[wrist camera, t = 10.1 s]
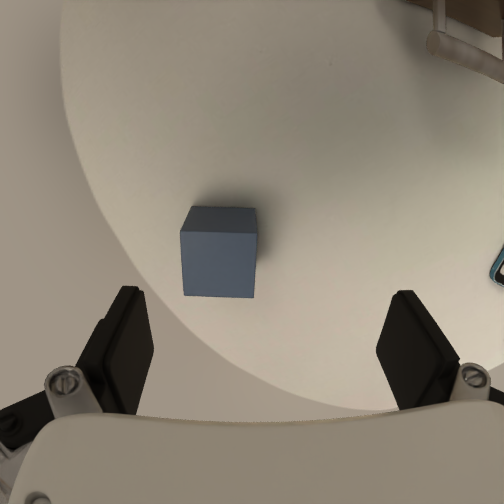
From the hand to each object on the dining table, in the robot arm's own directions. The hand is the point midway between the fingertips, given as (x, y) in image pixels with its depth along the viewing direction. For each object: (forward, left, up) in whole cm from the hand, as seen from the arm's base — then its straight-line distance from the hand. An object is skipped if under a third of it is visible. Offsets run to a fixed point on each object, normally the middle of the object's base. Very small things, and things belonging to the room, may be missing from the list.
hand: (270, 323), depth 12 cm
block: (-3, -2, -13) cm, 13 cm away
